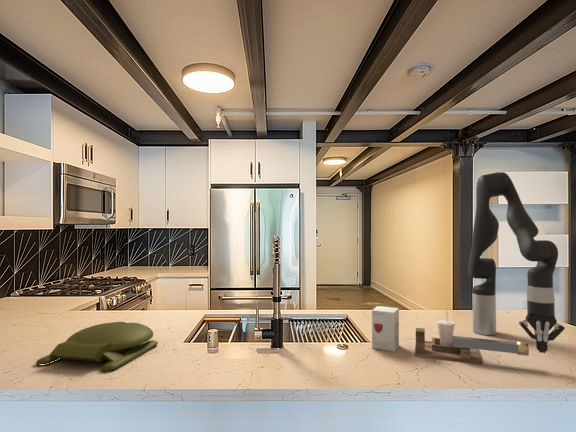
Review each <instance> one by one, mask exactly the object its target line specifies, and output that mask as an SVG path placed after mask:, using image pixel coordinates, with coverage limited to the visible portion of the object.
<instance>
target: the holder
mask: <svg viewBox="0 0 576 432" xmlns="http://www.w3.org/2000/svg"><path fill="white" fill-rule="evenodd" d="M425 330H426V329H425V328H424V327H423V328H422V327H416V328H415V347H414V357H422V358H429V359H437V360H445V361H451V362H452V361H453V362H462V363H470V364H478V365H483V360H482V358H481V355H480V353H479V349H471V348H462V347H453V344H452V346H443V345H441V344H440V337H431V340H426V338H425V336H426V335H425V334H426V333H425V332H426V331H425Z"/></svg>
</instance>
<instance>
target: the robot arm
mask: <svg viewBox="0 0 576 432" xmlns="http://www.w3.org/2000/svg"><path fill="white" fill-rule="evenodd" d="M475 186H476V190H475V191H476V194H475V196H476V197H475V198H476V199H475V201H476V202H475V203H476V205H475V215H474V223H473V231H472V242H471V249H470V254H469V259H468V264H467V272H468V276H469V277H470V278H472V279H477V280H478V279H480V280H481V279H482V280H485V281H484V282H482V283H480V284H477V285H474V286H473V287H472V288H471V293H472V294H471V295H472V296H471V297H472V332H473V333H475V334H477V335H484V336H494V335H497V304H496V303H497V300H496V298H497V297H496V294H497V293H496V288H497V287H496V286H497V285H496V279H497V278H496V277H497V265H496V261H495V259H493V258H485V257H484V258H483V257H482V254H484V252H486V250H488V249H489V248H490V247H492V245H493V244H494V243H495V242H496V240H497V238H498V235H499V227H500V223H499V220H498V219H497V217H496V215H495V214H494V213H493V211H492V210H491V208H490V200H491V198H495V197H496V198H497V197H502V196H503V197H504V198H505V200H506V201H507V210H506V221H507V224H508V226H509V227H510V229H511V231H512V233H513V234H514V235H515V237H516V241H517V244H518V250H519V251H520V254H521V255H522V257H523V258H524V259H525V260H527V261H529V262H536V263H537V264H536V265H535V267H533V268H529V269H528V270H527V274H526V275H527V276H526V277H527V287H526V289H527V290H526V310H527V311H526V312H527V314H526V316H525V319H524V320H522V321H519V322H518V324H519V325H520V327H521V328H522V329H523V330H524V331H525V333H527V335H528V336H529V337H530V338H531V339H532V340H535V349H536V350H537V351H538V353H540V354H541V353H542V354H546V352H547V351H548V342H549V341H550V342H551V341H554V340H556V338H557V337H559V335H561V334H562V333H563V332H564V330H565V329H566V328H565V326H564V325H562V324H560V323H559V322H558V320H557V319H556V317H555V316H556V315H555V314H556V309H555V301H556V299H555V292H554V271H555V270H556V266H557V262H558V258H559V249H558V247H557V245H556V244H555V243H554V242H553V241H552V240H536V239H535V238H536V237H537V235H538V234H539V229H538V227H537V225H536V224H535V222H534V220H533V219H532V218H531V216H530V215H529V213H528V212H527V210H526V208H525V207H524V205H523V202H522V201H521V198H520V195H519V193H518V191H517V189H516V187H515V185H514V182H513V180H512V179H511V177H510V176H509V174H508V173H506V172H504V171H501V172H500V171H499V172H493V173H487V174H481V175H480V176H479V177H478V178H477V181H476V185H475ZM529 325H530V327H531V328H532V329H533V331H534V333H533V332H532V331H531V329H529ZM553 328H554V329H553ZM552 329H553V330H552ZM550 330H552V331H551V332H550Z"/></svg>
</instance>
